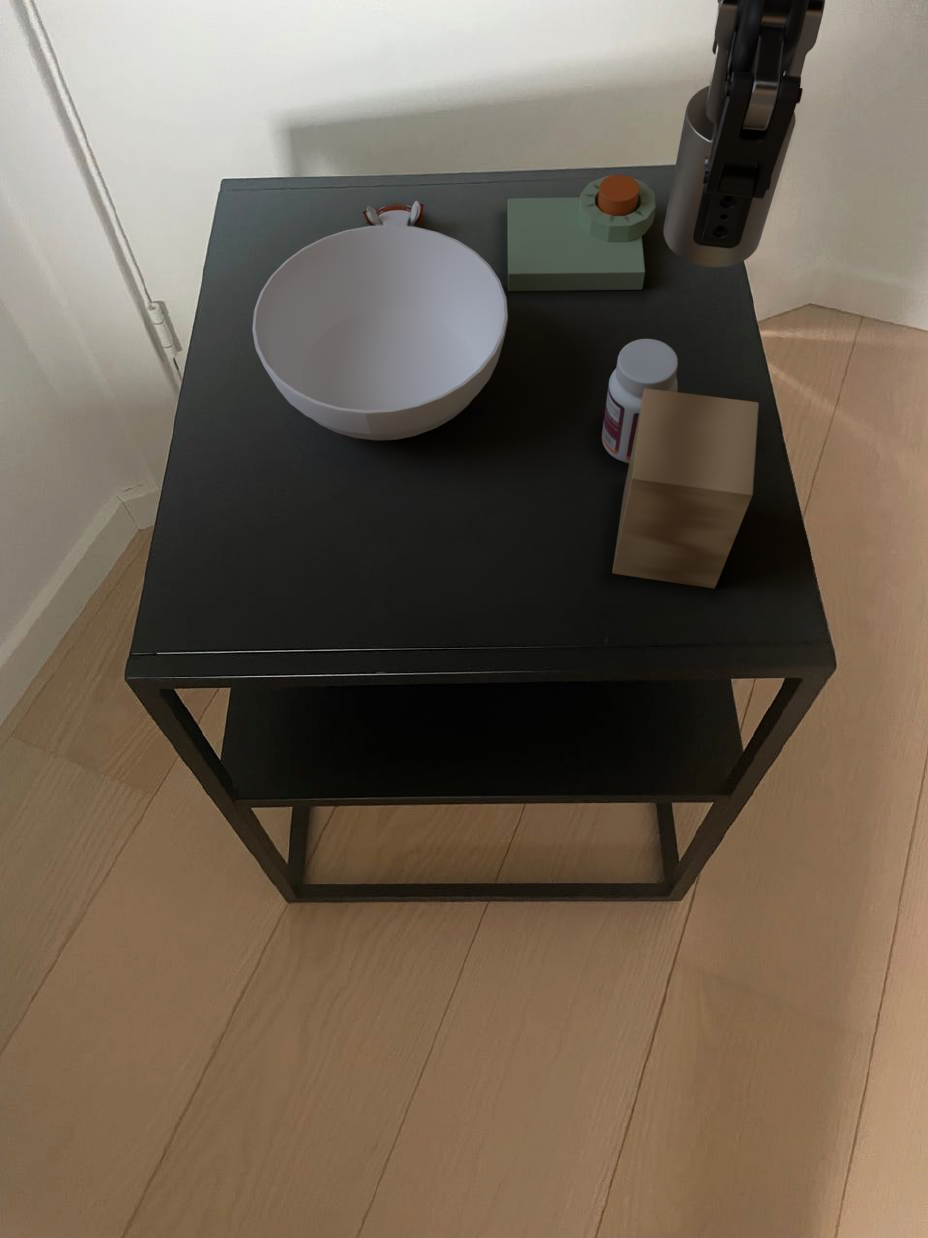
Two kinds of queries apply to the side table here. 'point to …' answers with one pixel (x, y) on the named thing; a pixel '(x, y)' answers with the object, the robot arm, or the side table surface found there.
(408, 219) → the toy car
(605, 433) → the pill bottle
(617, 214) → the button
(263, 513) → the side table surface
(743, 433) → the block
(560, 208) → the green board with knob
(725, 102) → the robot arm
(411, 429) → the bowl
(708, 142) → the spice tin
